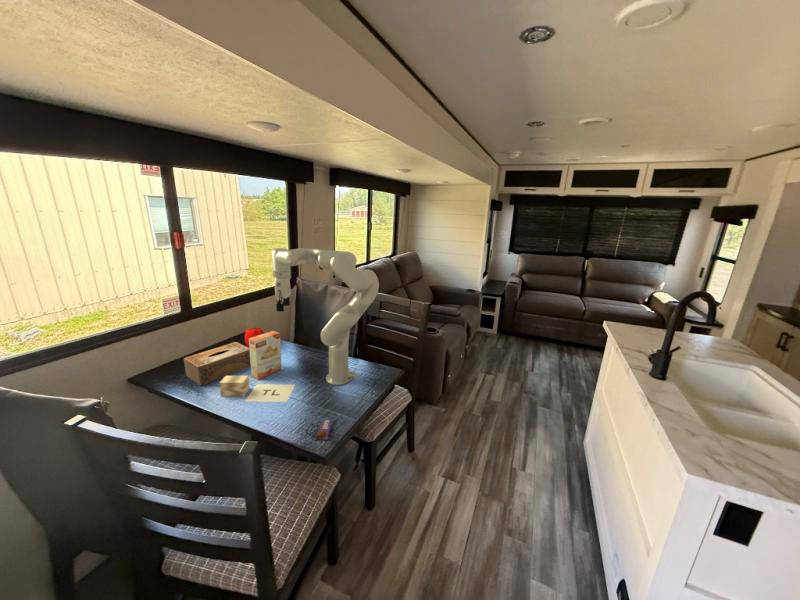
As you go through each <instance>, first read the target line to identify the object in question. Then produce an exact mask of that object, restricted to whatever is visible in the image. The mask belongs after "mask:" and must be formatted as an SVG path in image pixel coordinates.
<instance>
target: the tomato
mask: <svg viewBox="0 0 800 600" xmlns="http://www.w3.org/2000/svg"><path fill="white" fill-rule="evenodd" d="M261 334H265V332H264V330H263V328H261V327H256V326H254V327H250V328H247V329H246V331H245V333H244V343H245V346H246V347H248V348H249V338H252V337H255V336H258V335H261Z"/></svg>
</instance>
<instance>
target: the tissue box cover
mask: <svg viewBox="0 0 800 600" xmlns="http://www.w3.org/2000/svg"><path fill="white" fill-rule="evenodd" d="M183 362H184V370H185V376H186V377H187V378H188V377H189V378H188V379H190V380H192V381H193V382H194V383H196V384H197V385H198V386H204V385H206V384H209V383H212V382H214V381H217V380H220V379H223V378H224V377H225V376H231V375H232V374H235V373H237V372H240V371H243V370H245V369H247V368H251V362H250V349H249V347H248V346H247V345H244V344H241V343H240V342H238V341H233V342H231V343H228V344H224V345H221V346H219V347H215V348H212V349H209V350H205V351H202V352H199V353H195V354H192V355H190V356H186V357H183Z"/></svg>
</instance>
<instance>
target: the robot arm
mask: <svg viewBox="0 0 800 600" xmlns="http://www.w3.org/2000/svg"><path fill="white" fill-rule="evenodd" d="M271 260H272V261H271V262H272V263H271V264H272V275H273V276H272V278H273V279H274V294H275V295H274V296H275V301H276V302H275V305H276V311H277V312H285V308H284V307H285V306H287V307H289V306H290V305H291V304H290V303H291V301H290V296H291V294H292V290H291V288H292V287H291V282H290V278H291V271H290V270H291V269H290V267H295V266H299V265H302V264H311V265H318V266H319V267H320V268H321V269H324V270H325V269H326V270H333V272H334V273H335V274H336V275H337V276H338V277H339V279H341V281H343V282H344V284H345V285H346V286H348V288H349V289H350V290H352V291H353V292H355V294H354V295H353V296H352V297H351V299H350V300H349V302H347V304H346V305H345V306H343V307H341V308H340V309H338V310H337V311H336V312H335V313H334V314H333V315H332V316H331V318H330V319H329V320H328V321H327V323H326V324H325V325H324V327H323V328H322V330H321V331H320V340H321V342H322V343H323V344H324V345H325V346H327V347H328V374H327V375H326V376H325V381H326V382H327V383H328V384H329V385H333V386H342V385H346V384H348V383H349V382H350V381H351V380H352V378H358V373H357V372H355V370H354V371H351V370H350V368H349V341H350V333H351V328H353V326H355V324H357V323H358V321H359V319H361V317H362V316H363V315H364V313H365V312H366V311H367V309H368V308H369V307H370V306H371V304H372V303H373V302H374V301H375V299H376V297H377V295H378V292H379V287H380V285H379V284H380V283H379V279H378V276H377V273H375V272H374V270H372V269H362V270H359V269H358V268H356V265H357V257H356V255H355V254H354V253H352V252H351V251H342V250H327V249H320V248H306V247H301V248H294V249H293V248H292V249H287V248H283V247H281V248H279V247H278V248H277V247H275V248H273V249H272V250H271Z"/></svg>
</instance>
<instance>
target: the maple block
mask: <svg viewBox="0 0 800 600" xmlns="http://www.w3.org/2000/svg"><path fill="white" fill-rule="evenodd" d="M249 380H250V378H249V375H227V376H225V377H222V378H221V380H220V381H219V389H220V391H219V392H220V397H245V396H246V394H247V393H248V391H249V390H250V381H249Z"/></svg>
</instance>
